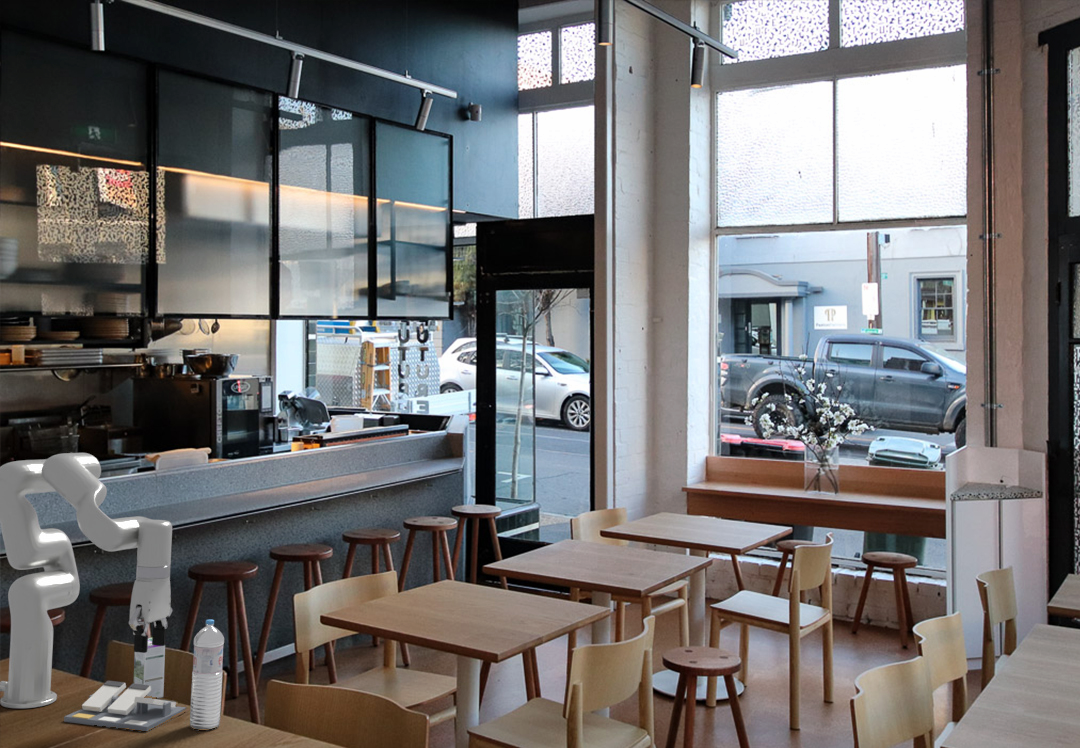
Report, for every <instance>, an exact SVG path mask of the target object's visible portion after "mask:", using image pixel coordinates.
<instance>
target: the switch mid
mask: <svg viewBox="0 0 1080 748" xmlns="http://www.w3.org/2000/svg"><path fill="white" fill-rule="evenodd" d="M150 691H151V686H149V685H142V684H133V683H132V684H131V685H129V687H127V689H125V690H124V691H123V693H121V694H120V695H119V696H120V697H119V698H118V699H117V700H116V701H115V702H114V703H113V704H112V705H110V706H109V707H108V713H115V714H123V715H127V714H128V713H129V712H130V711H131V710H132V709H133V708H134V707H135V706H136V705H137V702H134V700H135V697H143V698H144V697H145V696H146V695H147V694H148V693H149V692H150Z"/></svg>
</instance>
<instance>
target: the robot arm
mask: <svg viewBox="0 0 1080 748" xmlns="http://www.w3.org/2000/svg"><path fill="white" fill-rule="evenodd" d="M101 475H102V467H101V464H100V462H99V459H98V458H97V457H95V456H94V455H92V454H90V453H87V452H70V453H69V452H68V453H67V452H66V453H64V452H63V453H57V454H54V455H51V456H50V457H48V458H45V459H44V458H43V459H25V460H16V461H10V462H6V463H4V464H2V465H1V466H0V530H1V535H2V539H3V544H4V549H5V553H6V554H5V555H6V558H7V562H8V563H9V565H10V567H12V568H13V569H15V570H19V571H20V570H21V571H22V570H23V571H24V570H25V571H26V570H32V569H37V568H38V569H40V568H43V569H44V571H41V572H35V573H31V574H26V575H24V576H20V577H18V578H17V579H16V580H15V581H14V582H12V584H11V585H10V586H9V589H8V592H7V593H8V594H7V598H8V607H9V612H10V643H9V644H10V645H9V662H8V681H6V680H1V681H0V692H3V696H2V697H1V698H0V705H1V706H2V707H4V708H7V709H8V708H9V709H32V708H33V709H34V708H39V707H40V708H41V707H43V706H48V705H51V704H53V703H54V702H55V701H56V700H57V698H58V694H57V693H56V692H54V691H52V690H51V688H52V687H51V685H52V683H51V682H52V666H53V645H54V626H53V625H54V624H53V622H52V620H51V618H50V615H49V614H48V611H49V610H53V609H58V608H62V607H66V606H69V605H71V604H73V603H74V602H75V601H76V600H77V599H78V596H79V594H80V588H81V586H80V577H79V573H78V567H77V563H76V558H75V553H74V549H73V545H72V542H71V540H70V538H69V537H68V535H67V534H66V533H65V532H64V531H63V530H61V529H58V528H52V527H51V528H41V526H40V523H39V519H38V514H37V513H38V512H37V511H36V509H35V507H34V506H33V504H32V503H31V502H30V500H28V498H26V495H31V494H42V493H53V492H56V493H58V494H59V496H61V497H62V498H63V499H64V500H65V501H66V502H67V503H68V504H70V505H71V506H72V507H73V508H74V509H75V510H76V512H75V513H76V522H77V523H78V524H77V525H78V528H79V530H80V531H81V532H82V535H84V536H85V537H86V538H87V539H89V541H90V542H92V544H94V545H95V546H96V547H98V548H99V549H101V550H103V551H106V552H117V551H123V550H131V549H136V548H137V551H136V552H137V556H136V577H135V579H136V580H134V583H133V587H132V592H131V597H130V605H129V606H130V607H129V621H128V625H129V627H130V629H131V631H132V634H133V636H134V638H133V639H134V641H133V651H134V653H135V652H140V653H146V652H147V647H148V638H149V635H148V634H147V633H148V629H149V625H150V624H151V623H153V625H154V627H153V628H152V636H151V638H152V645H156V646H164V645H165V646H166V635H167V634H166V633H167V631H166V630H167V628H168V622H169V620H170V616H171V615H172V613H173V608H172V607H171V600H172V598H171V593H172V592H171V590H172V589H171V581H170V580H171V563H172V561H171V560H172V543H173V542H172V541H173V540H172V538H173V525H172V523H171V522H170V521H169V520H164V519H152V518H149V517H145V516H140V515H138V516H129V517H127V516H125V517H119V518H118V517H117V518H111V517H109V516H108V515H107V514H105V512H104V511H102V510H101V509H100V506H101V505H102V504H103V502H104V501H105V499H106V497H107V495H108V490H107V487H106V485H105V484H104V483H103V482H102V481H100V477H101ZM142 620H143V621H142ZM142 626H143V627H142Z"/></svg>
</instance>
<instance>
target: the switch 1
mask: <svg viewBox="0 0 1080 748" xmlns="http://www.w3.org/2000/svg"><path fill="white" fill-rule="evenodd" d="M126 688H127V685H126V682H124V681H115V680H107V681H106V682H104V683H103V685H102V686H101V687H99V688H98V690H96V691H95V692H94V693H93V695H92V694H91V695H92V696H91V697H90V698H89V697H88V699H87V700H86V701H84V702H83V703H82V705H81V707H82V708H81V709H83V710H91V711H99V712H101V711H102V710H103V709H104V708H105V707H106V706H107V705H108V704H109V703H110V702H111V699H112V698H114V697H116V696H120V695H121V694H122V692H124V691H125V690H126Z"/></svg>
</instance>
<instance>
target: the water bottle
mask: <svg viewBox="0 0 1080 748" xmlns="http://www.w3.org/2000/svg"><path fill="white" fill-rule="evenodd" d="M214 625H215V620H214V619H213V618H212V619H206V620H205V626H204V627H203V628H201V629H200V630H199V632H197V633H196V635H195V636H194V638H193V661H192V662H193V663H192V673H191V675H192V676H191V679H192V680H191V692H190V716H189V726H191V727H193V728H195V729H212V728H215V727H217V728H218V727H219V726H220V723H221V711H222V693H223V692H222V691H223V690H222V689H223V672H224V671H223V659H224V658H223V657H224V643H225V637H224V635H223V633H222V632H221V631H220V630H219V629H218V628H217V627H215V626H214ZM191 727H190V728H191ZM215 729H216V728H215ZM212 730H213V729H212Z"/></svg>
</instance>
